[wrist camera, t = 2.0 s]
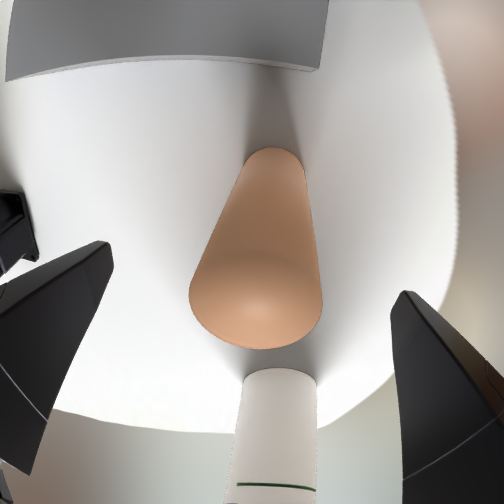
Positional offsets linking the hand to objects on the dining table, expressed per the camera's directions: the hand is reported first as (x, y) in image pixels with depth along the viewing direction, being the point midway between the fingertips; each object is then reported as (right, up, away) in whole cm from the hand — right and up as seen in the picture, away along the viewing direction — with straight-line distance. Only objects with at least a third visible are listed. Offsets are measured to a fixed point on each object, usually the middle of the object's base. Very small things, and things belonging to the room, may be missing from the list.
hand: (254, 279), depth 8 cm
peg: (+1, +5, +7) cm, 9 cm away
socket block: (-4, +16, +1) cm, 17 cm away
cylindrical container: (+3, -12, +18) cm, 22 cm away
